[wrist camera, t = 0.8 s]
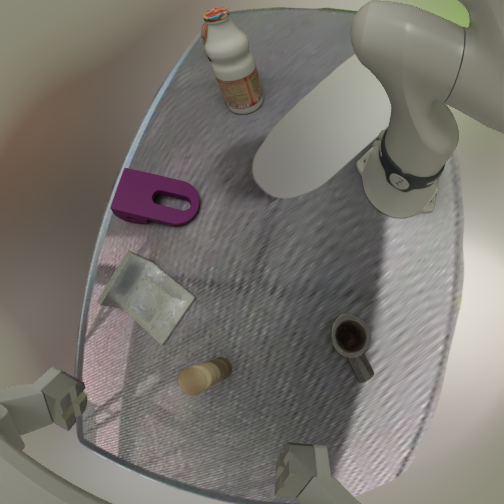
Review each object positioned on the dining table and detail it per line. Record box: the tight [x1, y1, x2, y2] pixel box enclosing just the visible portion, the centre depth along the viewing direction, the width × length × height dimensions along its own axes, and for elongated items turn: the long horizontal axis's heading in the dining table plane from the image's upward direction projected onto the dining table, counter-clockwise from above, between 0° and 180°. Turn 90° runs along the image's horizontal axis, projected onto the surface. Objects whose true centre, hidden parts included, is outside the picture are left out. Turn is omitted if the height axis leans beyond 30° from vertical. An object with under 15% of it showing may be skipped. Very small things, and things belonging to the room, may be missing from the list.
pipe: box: [331, 314, 374, 383], centre depth 44 cm, size 6×13×8 cm, turn 27°
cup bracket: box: [97, 251, 197, 345], centre depth 52 cm, size 12×13×9 cm
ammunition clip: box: [201, 22, 212, 61], centre depth 68 cm, size 11×2×12 cm, turn 177°
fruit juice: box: [203, 7, 264, 114], centre depth 52 cm, size 9×9×28 cm
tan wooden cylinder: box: [178, 358, 232, 395], centre depth 44 cm, size 4×4×15 cm
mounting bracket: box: [111, 168, 199, 226], centre depth 60 cm, size 10×8×18 cm
